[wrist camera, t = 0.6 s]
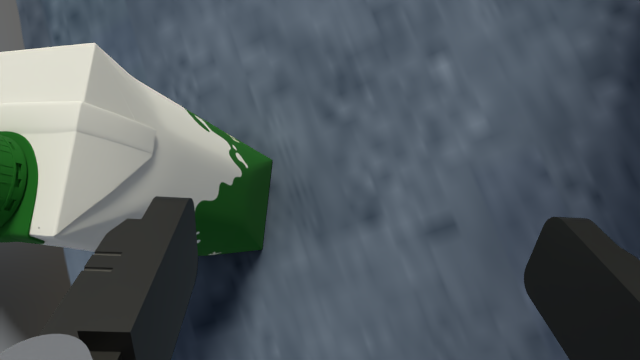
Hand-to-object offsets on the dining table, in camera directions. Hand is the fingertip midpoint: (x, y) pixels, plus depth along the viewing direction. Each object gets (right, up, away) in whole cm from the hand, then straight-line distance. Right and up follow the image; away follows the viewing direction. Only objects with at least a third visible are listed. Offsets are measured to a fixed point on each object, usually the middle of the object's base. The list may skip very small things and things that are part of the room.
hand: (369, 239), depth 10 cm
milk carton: (-8, 0, +24) cm, 26 cm away
